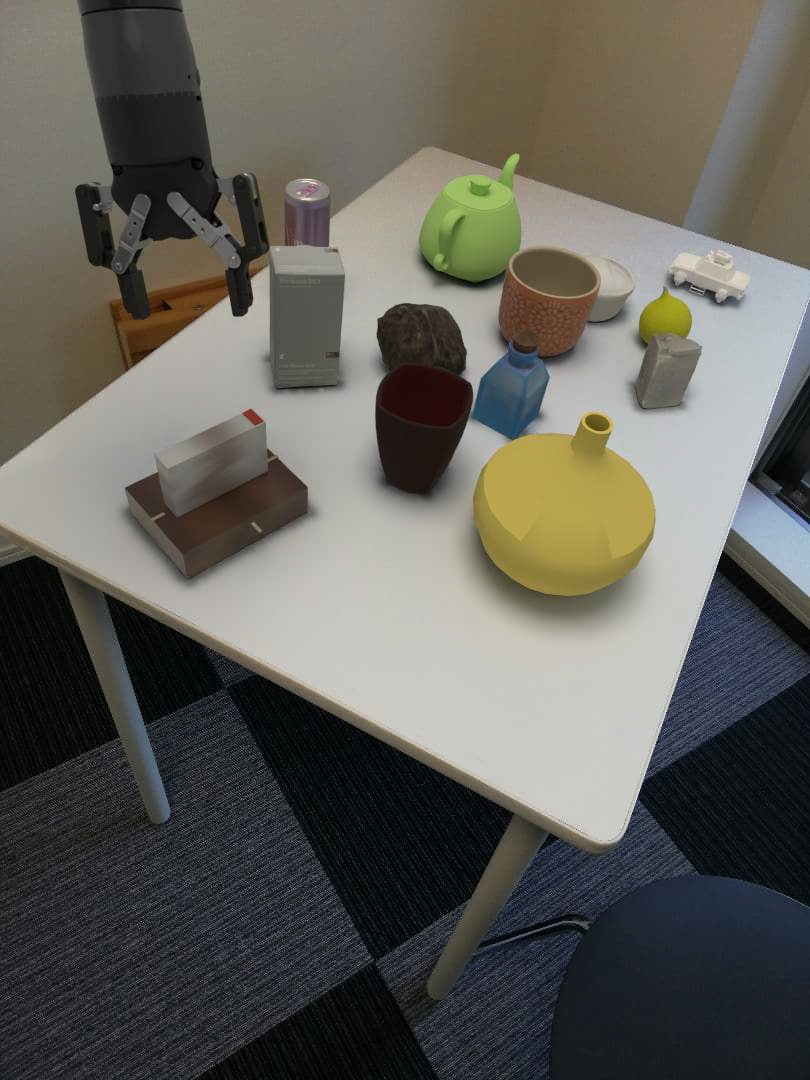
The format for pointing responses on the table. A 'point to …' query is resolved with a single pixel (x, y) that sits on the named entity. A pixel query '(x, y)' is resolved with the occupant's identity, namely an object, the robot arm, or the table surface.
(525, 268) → the planter
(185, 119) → the robot arm
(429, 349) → the rock
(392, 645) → the table surface
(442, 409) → the mug
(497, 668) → the table surface
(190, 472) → the red-tipped metal bar
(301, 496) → the brown rectangular plinth
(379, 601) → the table surface
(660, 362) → the mineral specimen
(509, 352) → the perfume bottle
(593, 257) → the ramekin
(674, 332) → the ornament
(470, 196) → the teapot
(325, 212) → the beverage can
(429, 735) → the table surface
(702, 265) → the toy car
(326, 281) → the cosmetic box
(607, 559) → the vase
